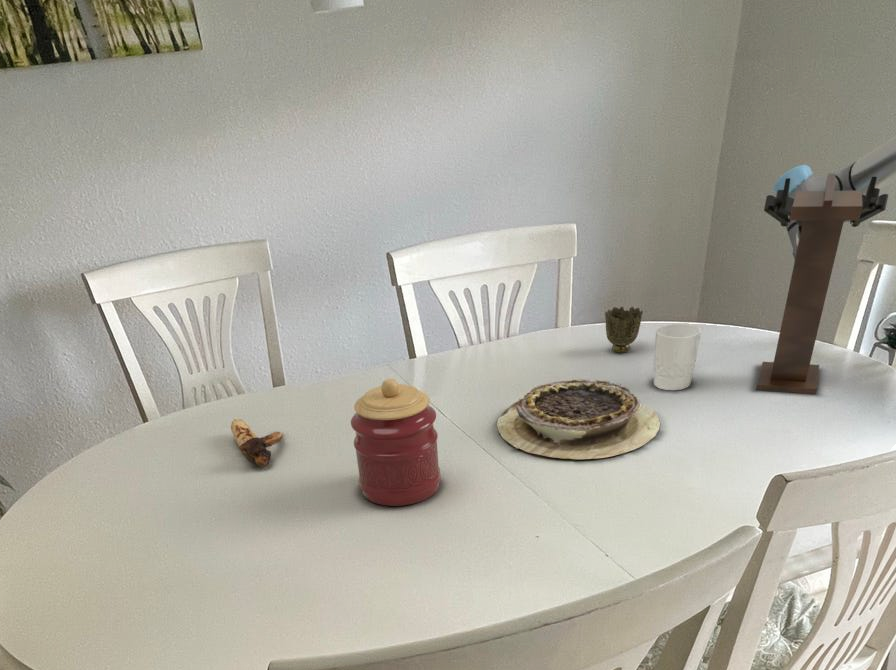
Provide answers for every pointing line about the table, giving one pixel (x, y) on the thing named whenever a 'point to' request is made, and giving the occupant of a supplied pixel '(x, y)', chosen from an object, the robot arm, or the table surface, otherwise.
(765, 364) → the stand
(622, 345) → the cup
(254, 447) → the lashed bone hook
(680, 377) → the white cup
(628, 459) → the table surface
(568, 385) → the pie
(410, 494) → the kitchen canister
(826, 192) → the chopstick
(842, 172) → the robot arm
